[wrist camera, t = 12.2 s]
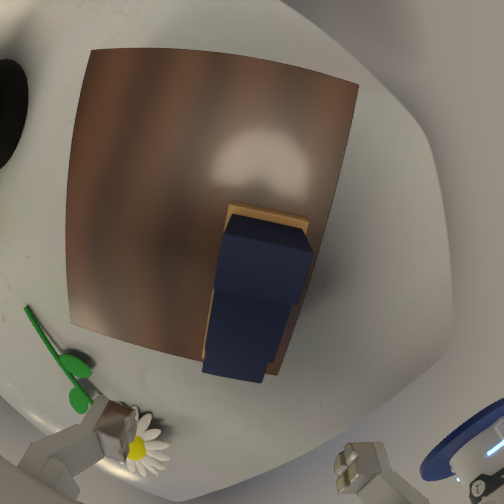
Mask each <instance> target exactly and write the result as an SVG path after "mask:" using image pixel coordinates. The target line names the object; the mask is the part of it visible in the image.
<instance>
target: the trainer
mask: <svg viewBox="0 0 504 504" xmlns="http://www.w3.org/2000/svg"><path fill="white" fill-rule="evenodd" d="M308 224H309V221H308V220H307V218H305V217H301V216H297V215H292V214H288V213H284V212H279V211H275V210H270V209H266V208H261V207H256V206H252V205H247V204H242V203H238V202H233V201H231V202H230V204H229V206H228V211H227V216H226V221H225V226H224V232H223V237H222V242H221V247H220V253H219V258H218V263H217V269H216V275H215V280H214V286H213V292H212V298H211V303H210V309H209V315H208V321H207V327H206V333H205V340H204V346H203V352H202V358H203V359H204V362H203V368H202V372H203V373H208V374H212V375H217V376H222V377H227V378H233V379H238V380H244V381H249V382H256V383H262V381H263V378H264V375H265V372H266V369H267V366H268V363H274V360H275V357H276V354H277V351H278V348H279V345H280V342H281V339H282V336H283V333H284V330H285V327H286V324H287V321H288V318H289V315H290V311H291V308H292V305H296V306H297V305H298V303H299V300H300V297H301V294H302V291H303V287H304V284H305V281H306V278H307V274H308V271H309V268H310V265H311V261H312V258H313V254H314V252H313V250H312V248H311V246H310V243H309V241H308V239H307V237H306V232H307V228H308Z"/></svg>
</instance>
